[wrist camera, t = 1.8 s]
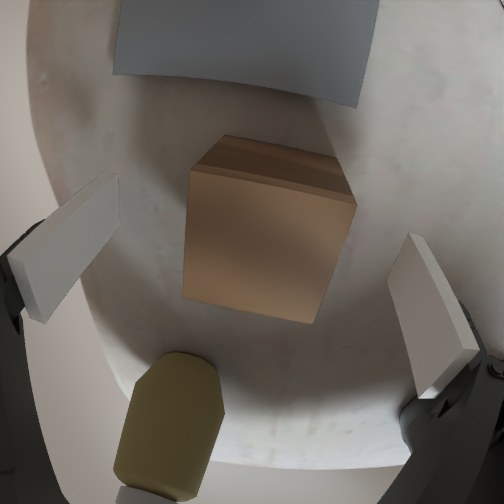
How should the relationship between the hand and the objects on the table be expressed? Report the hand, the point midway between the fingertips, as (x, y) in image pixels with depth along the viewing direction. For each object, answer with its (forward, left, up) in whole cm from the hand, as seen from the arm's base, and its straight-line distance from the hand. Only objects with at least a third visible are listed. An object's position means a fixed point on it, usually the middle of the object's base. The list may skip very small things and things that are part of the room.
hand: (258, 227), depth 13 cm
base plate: (+12, +3, -5) cm, 13 cm away
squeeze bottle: (-18, +4, -5) cm, 19 cm away
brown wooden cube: (0, 0, -5) cm, 5 cm away
